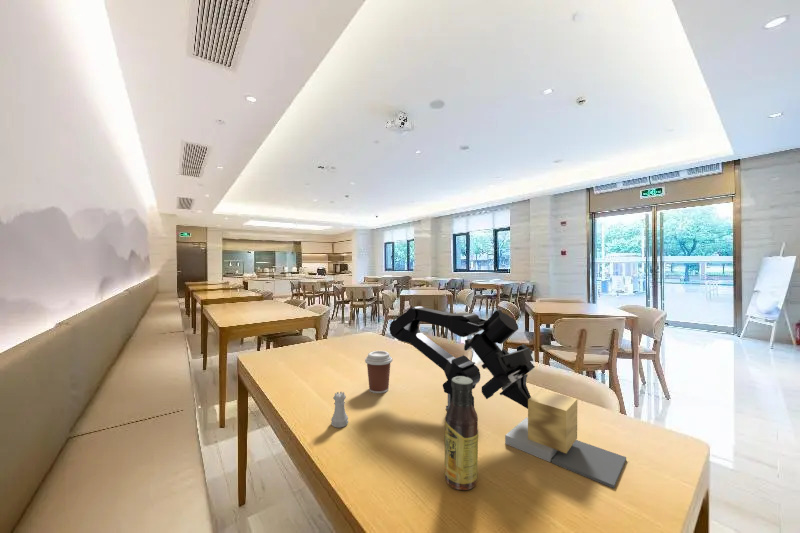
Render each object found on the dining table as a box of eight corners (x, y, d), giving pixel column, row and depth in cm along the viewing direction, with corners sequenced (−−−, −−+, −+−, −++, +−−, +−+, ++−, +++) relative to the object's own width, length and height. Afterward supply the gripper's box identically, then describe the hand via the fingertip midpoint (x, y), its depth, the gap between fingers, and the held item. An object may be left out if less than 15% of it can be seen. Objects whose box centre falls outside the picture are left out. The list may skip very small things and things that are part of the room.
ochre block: (527, 439, 72) (528, 399, 72) (541, 426, 78) (541, 389, 78) (566, 453, 67) (566, 410, 67) (577, 438, 73) (577, 399, 73)
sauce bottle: (441, 471, 64) (441, 373, 64) (471, 470, 65) (471, 372, 65) (449, 495, 58) (448, 385, 58) (482, 493, 58) (482, 384, 58)
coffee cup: (360, 392, 104) (359, 355, 104) (372, 382, 112) (372, 348, 112) (385, 396, 101) (385, 358, 100) (396, 386, 109) (396, 351, 109)
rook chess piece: (351, 421, 85) (351, 391, 85) (343, 429, 81) (342, 398, 81) (336, 418, 86) (336, 389, 86) (327, 426, 82) (327, 395, 82)
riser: (505, 443, 74) (505, 435, 74) (526, 425, 83) (526, 417, 83) (550, 462, 67) (550, 452, 67) (568, 439, 76) (568, 431, 76)
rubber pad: (551, 462, 67) (551, 460, 67) (569, 440, 76) (569, 437, 76) (613, 488, 59) (613, 485, 59) (626, 459, 68) (626, 457, 68)
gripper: (493, 342, 73) (543, 405, 65) (526, 329, 86) (572, 381, 78) (463, 369, 78) (507, 430, 70) (499, 353, 91) (539, 403, 84)
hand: (533, 409), depth 76 cm, fingers closed
